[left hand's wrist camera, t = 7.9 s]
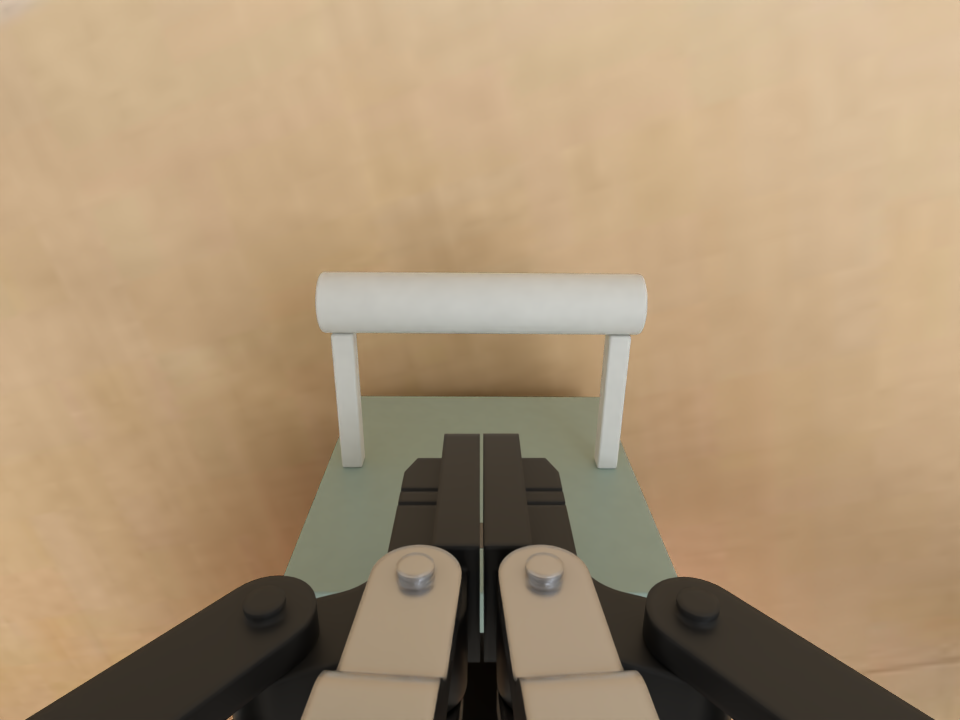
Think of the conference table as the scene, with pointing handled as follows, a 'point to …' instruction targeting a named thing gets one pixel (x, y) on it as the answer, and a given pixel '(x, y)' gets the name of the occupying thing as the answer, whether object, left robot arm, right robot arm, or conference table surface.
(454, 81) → the conference table surface
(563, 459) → the drawer
